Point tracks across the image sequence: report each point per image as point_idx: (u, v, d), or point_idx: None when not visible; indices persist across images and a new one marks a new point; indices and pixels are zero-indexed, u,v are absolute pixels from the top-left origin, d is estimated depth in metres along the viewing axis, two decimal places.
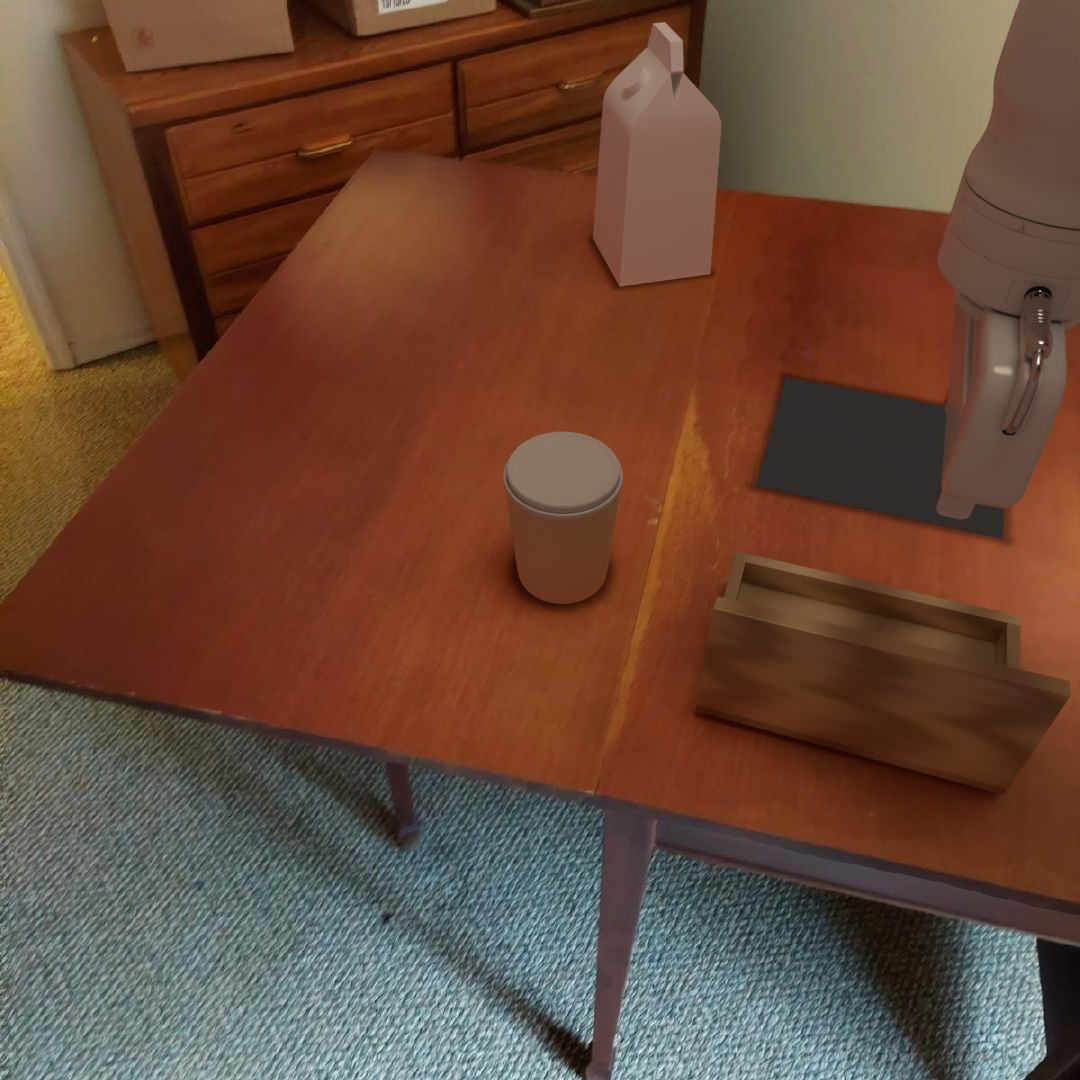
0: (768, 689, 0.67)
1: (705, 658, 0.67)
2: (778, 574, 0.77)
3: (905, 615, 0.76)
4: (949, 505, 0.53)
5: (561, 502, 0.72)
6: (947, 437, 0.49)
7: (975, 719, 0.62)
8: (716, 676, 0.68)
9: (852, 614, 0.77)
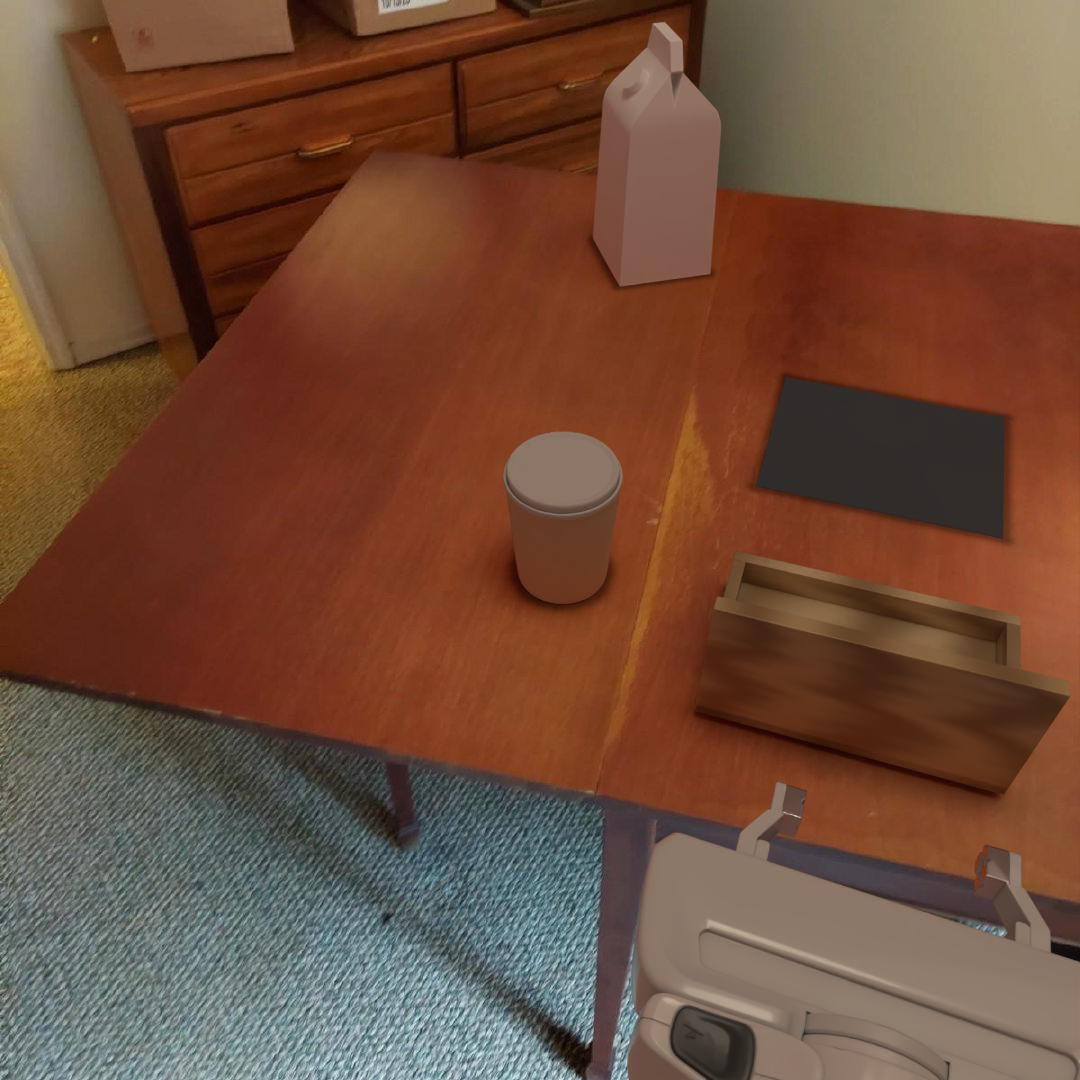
0: (768, 689, 0.67)
1: (705, 658, 0.67)
2: (778, 574, 0.77)
3: (905, 615, 0.76)
4: None
5: (561, 502, 0.72)
6: None
7: (975, 719, 0.62)
8: (716, 676, 0.68)
9: (852, 614, 0.77)
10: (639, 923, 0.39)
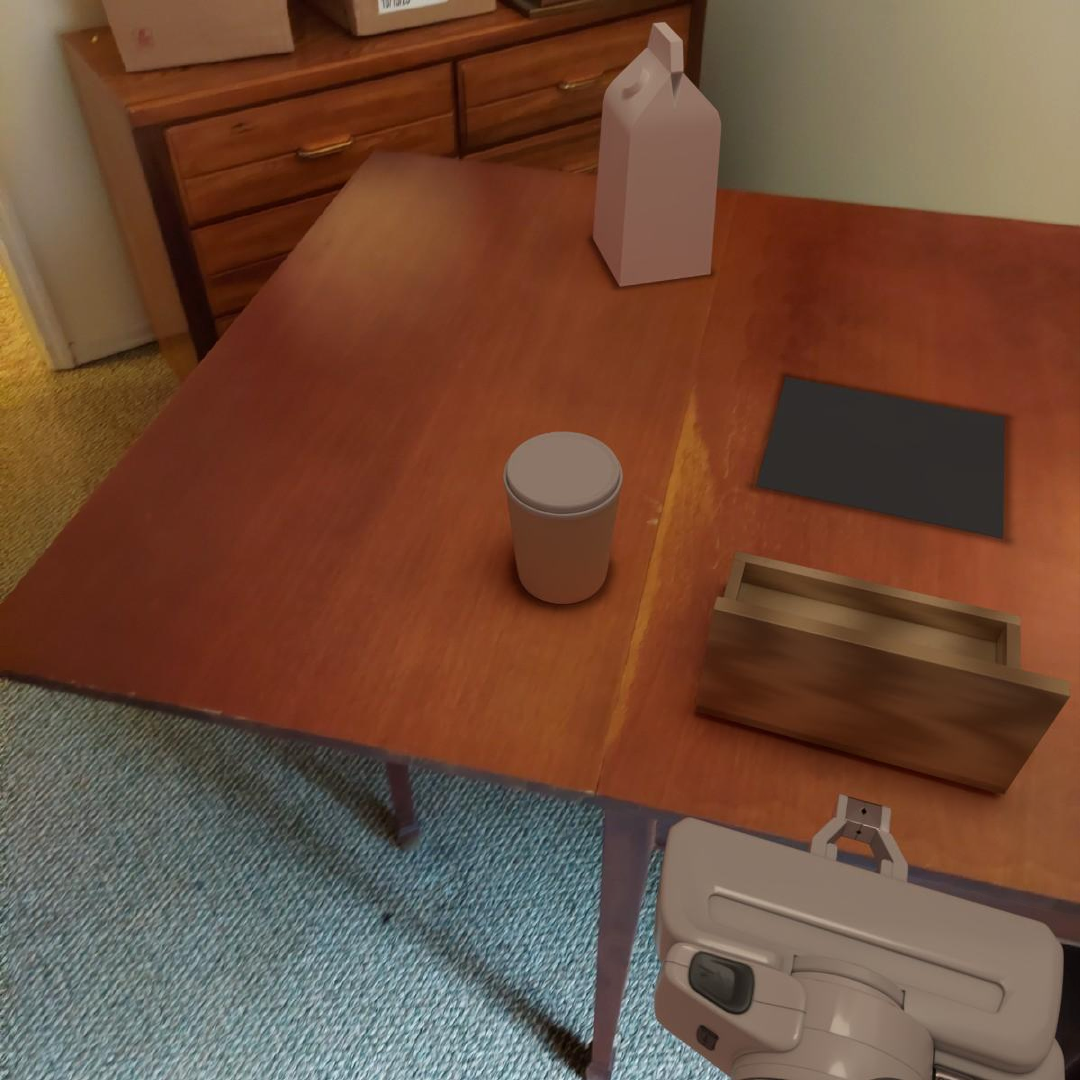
0: (768, 689, 0.67)
1: (705, 658, 0.67)
2: (778, 574, 0.77)
3: (905, 615, 0.76)
4: None
5: (561, 502, 0.72)
6: None
7: (975, 719, 0.62)
8: (716, 676, 0.68)
9: (852, 614, 0.77)
10: (661, 889, 0.49)
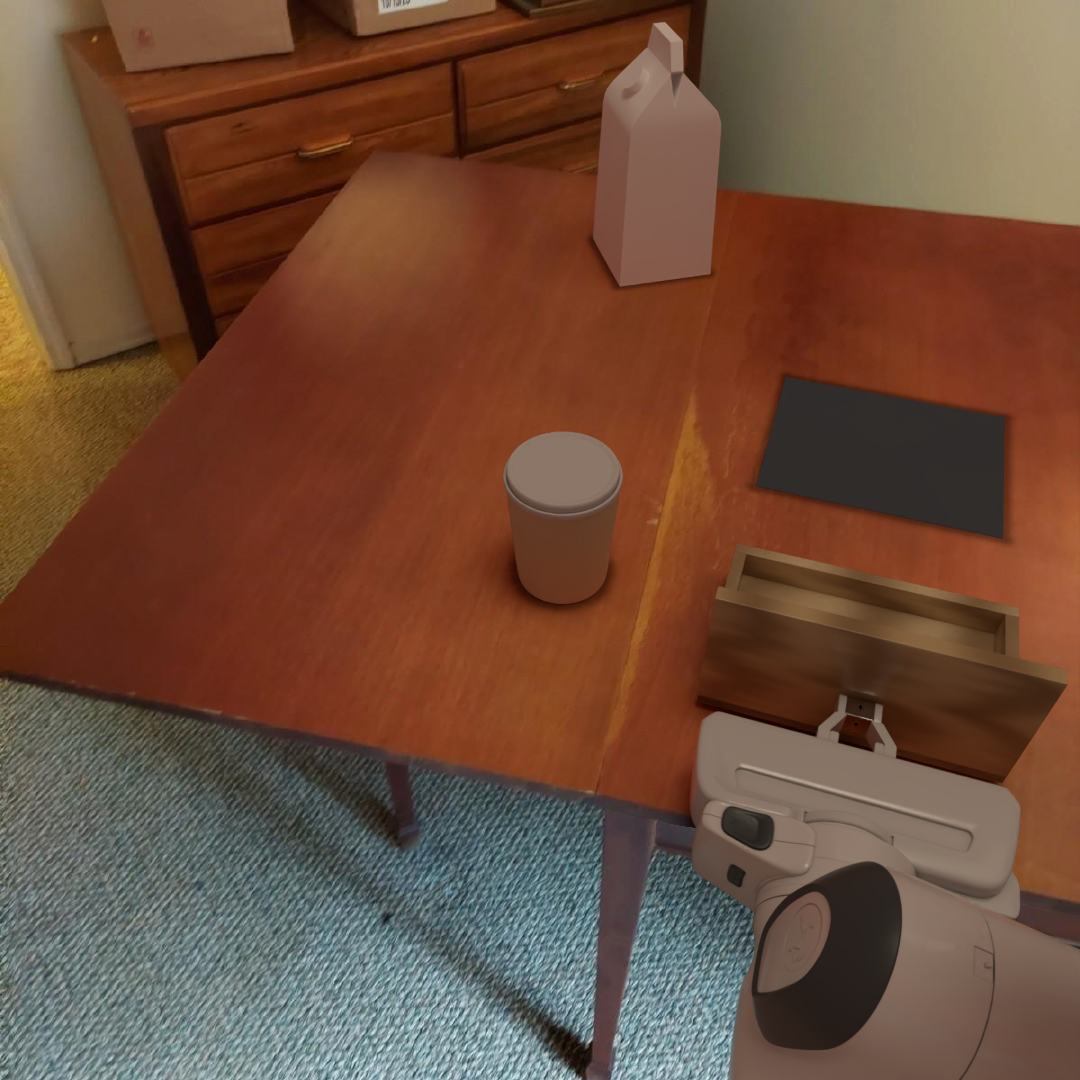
0: (769, 679, 0.68)
1: (706, 648, 0.68)
2: (778, 566, 0.78)
3: (904, 607, 0.76)
4: None
5: (561, 502, 0.72)
6: None
7: (974, 708, 0.63)
8: (717, 666, 0.69)
9: (852, 606, 0.77)
10: (696, 764, 0.61)
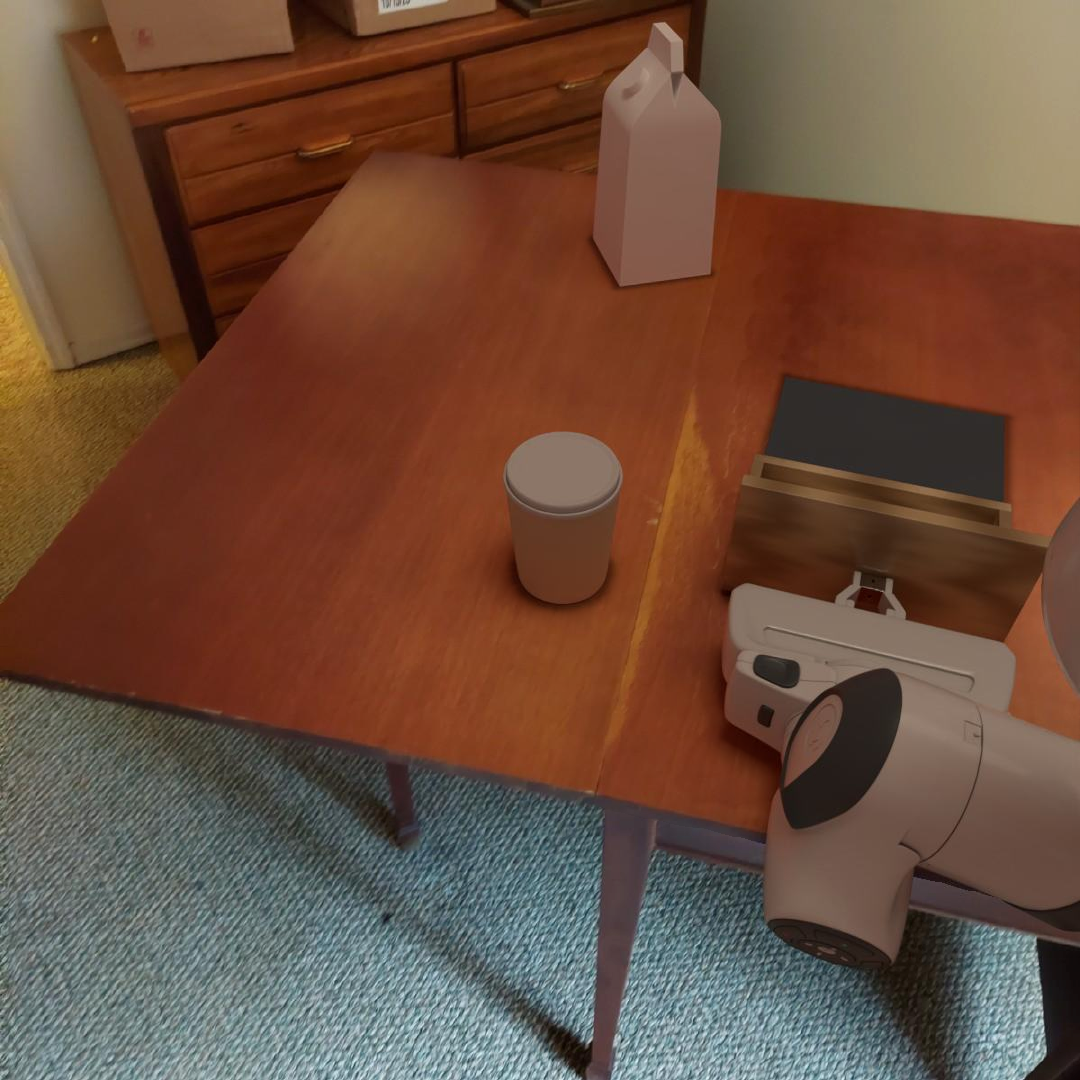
0: (788, 562, 0.75)
1: (732, 534, 0.75)
2: (793, 473, 0.86)
3: (908, 507, 0.84)
4: None
5: (561, 502, 0.72)
6: None
7: (972, 578, 0.71)
8: (741, 552, 0.76)
9: None
10: (729, 624, 0.68)
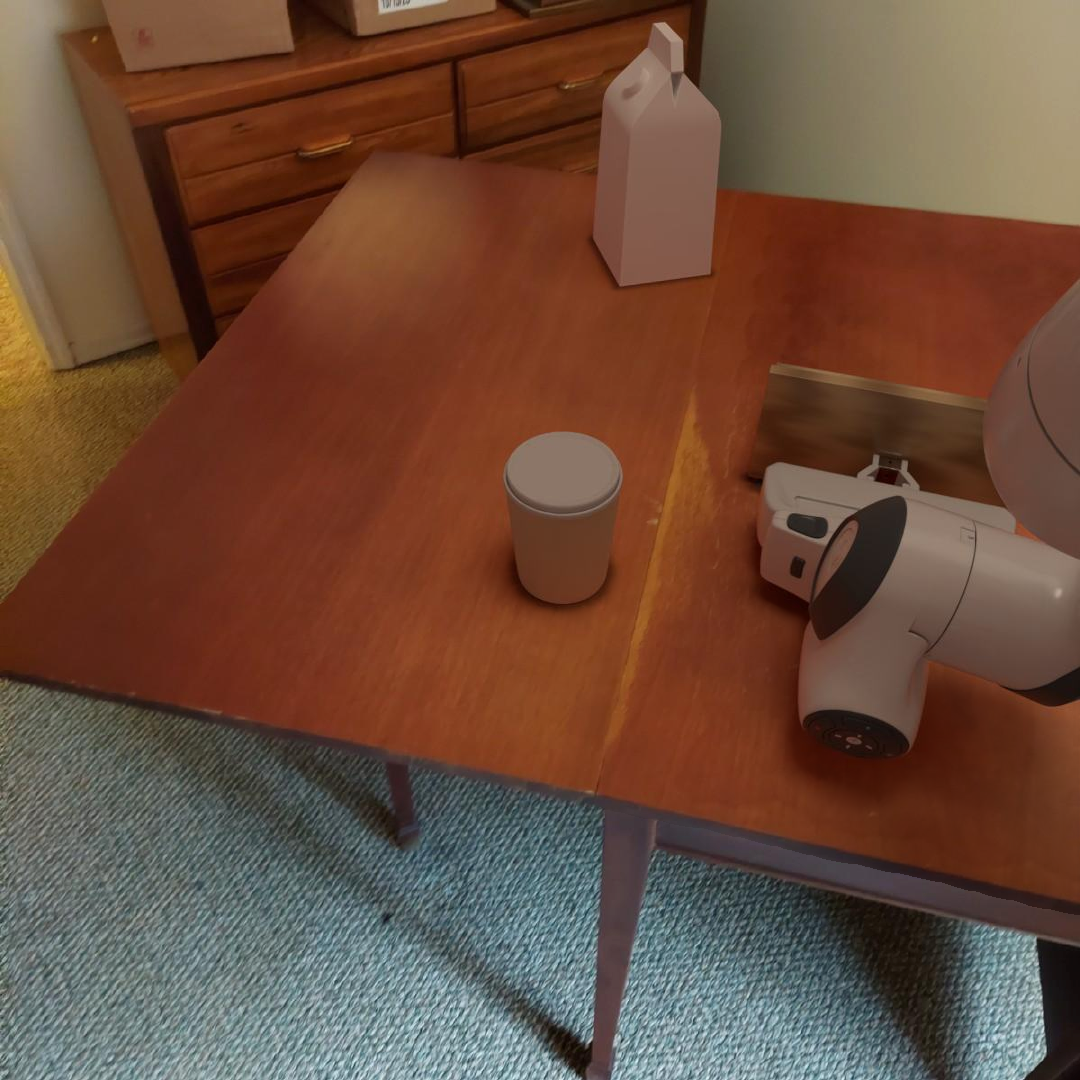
0: (810, 446, 0.85)
1: (760, 422, 0.85)
2: None
3: None
4: None
5: (561, 502, 0.72)
6: None
7: (973, 453, 0.80)
8: (768, 439, 0.86)
9: None
10: (764, 493, 0.78)
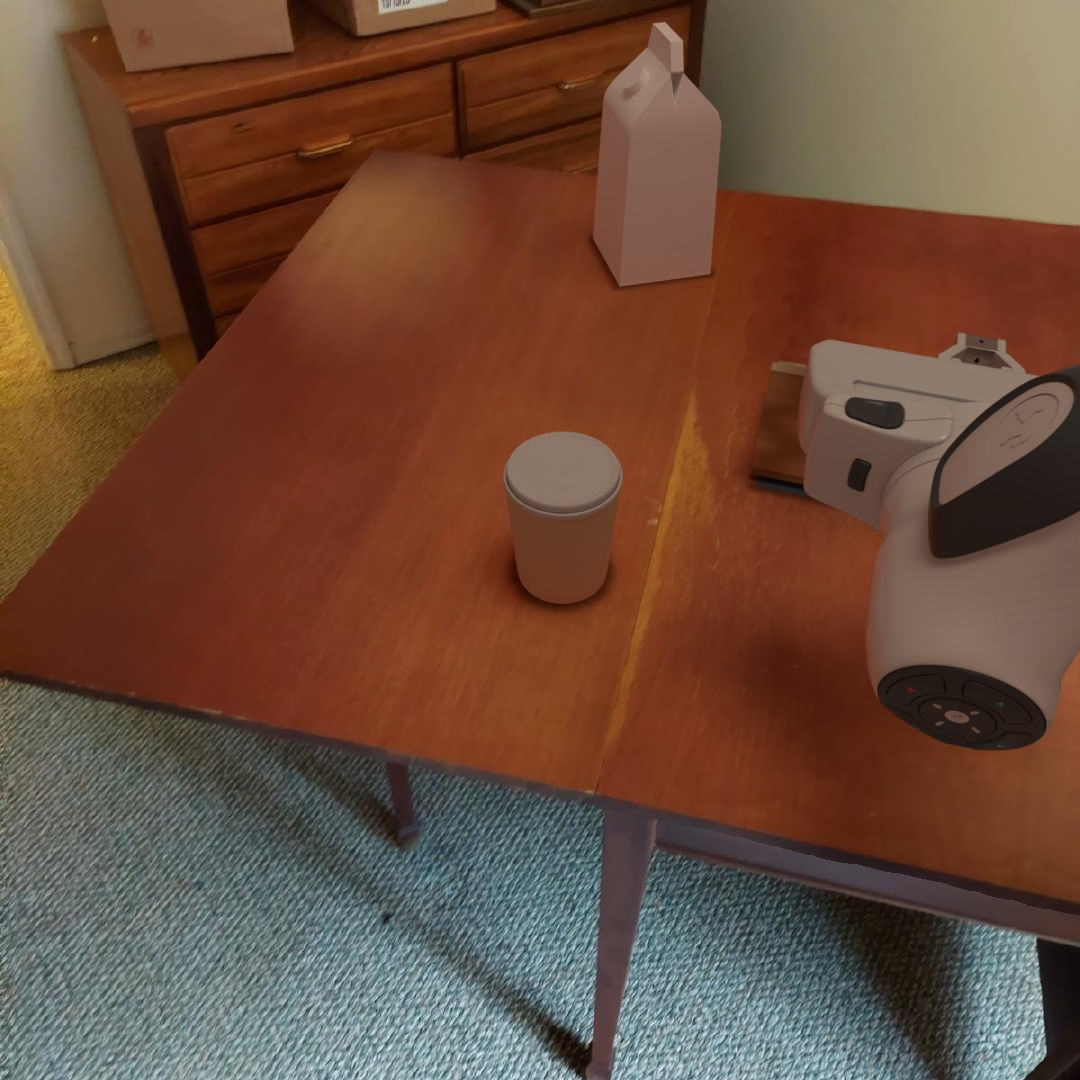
0: None
1: (761, 419, 0.85)
2: None
3: None
4: None
5: (560, 502, 0.72)
6: None
7: None
8: (769, 436, 0.86)
9: None
10: (810, 376, 0.56)
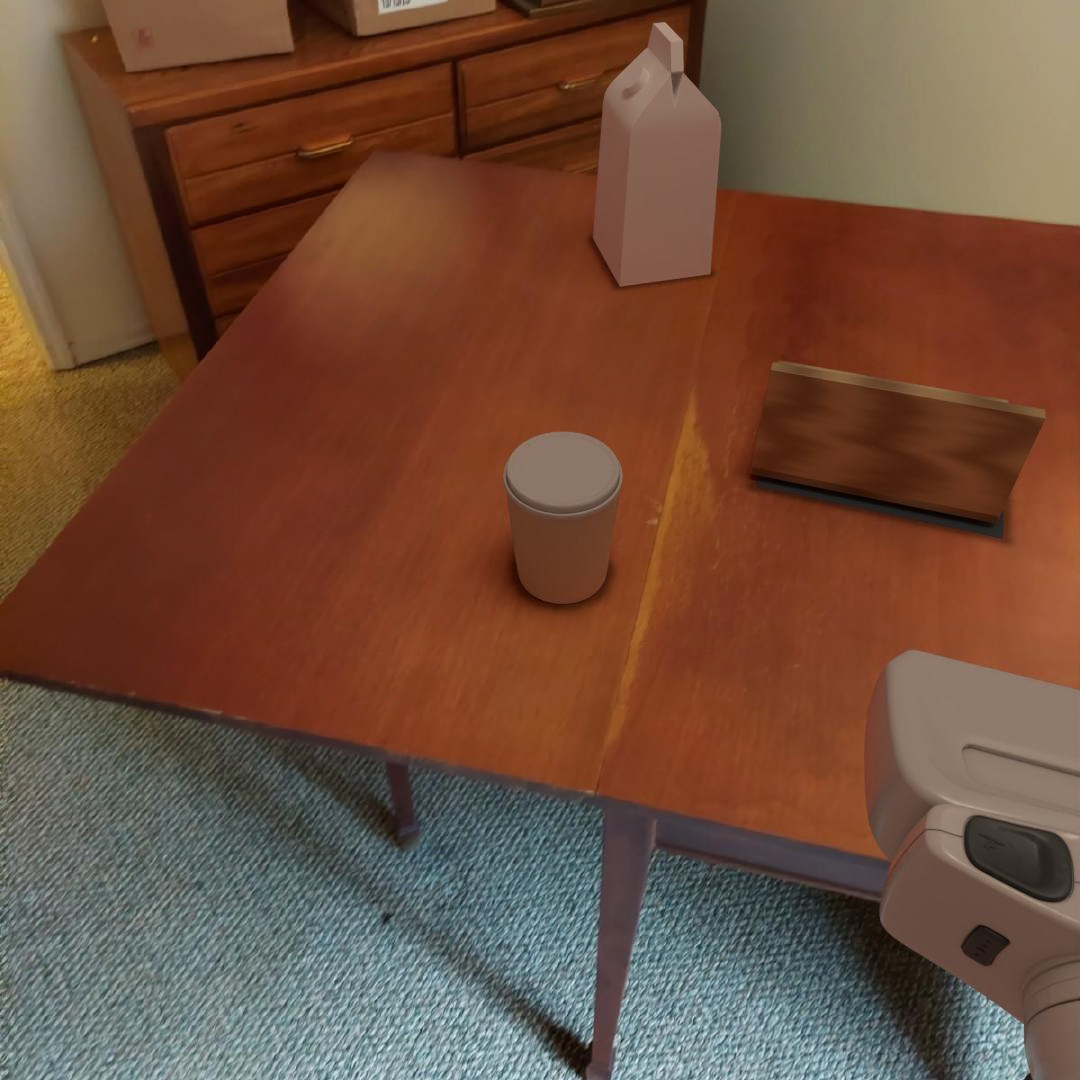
0: (811, 443, 0.85)
1: (761, 419, 0.85)
2: None
3: None
4: None
5: (561, 502, 0.72)
6: None
7: (974, 450, 0.81)
8: (769, 436, 0.86)
9: None
10: (892, 739, 0.34)
